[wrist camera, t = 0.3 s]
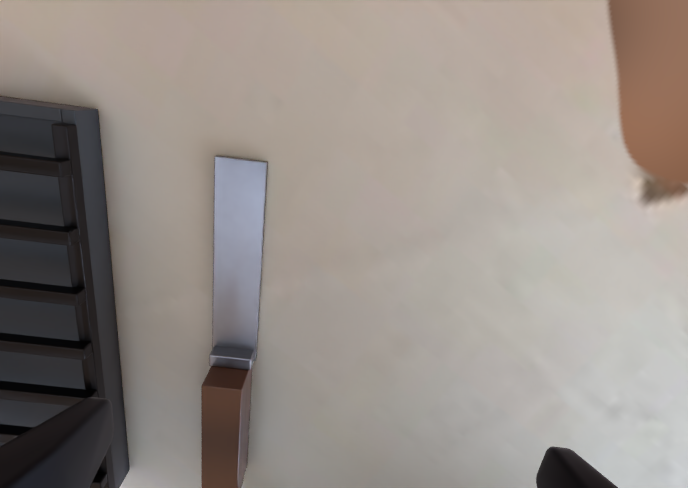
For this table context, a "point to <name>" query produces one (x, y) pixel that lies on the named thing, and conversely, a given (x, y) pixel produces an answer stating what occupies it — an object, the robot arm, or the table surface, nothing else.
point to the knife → (233, 318)
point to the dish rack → (56, 274)
